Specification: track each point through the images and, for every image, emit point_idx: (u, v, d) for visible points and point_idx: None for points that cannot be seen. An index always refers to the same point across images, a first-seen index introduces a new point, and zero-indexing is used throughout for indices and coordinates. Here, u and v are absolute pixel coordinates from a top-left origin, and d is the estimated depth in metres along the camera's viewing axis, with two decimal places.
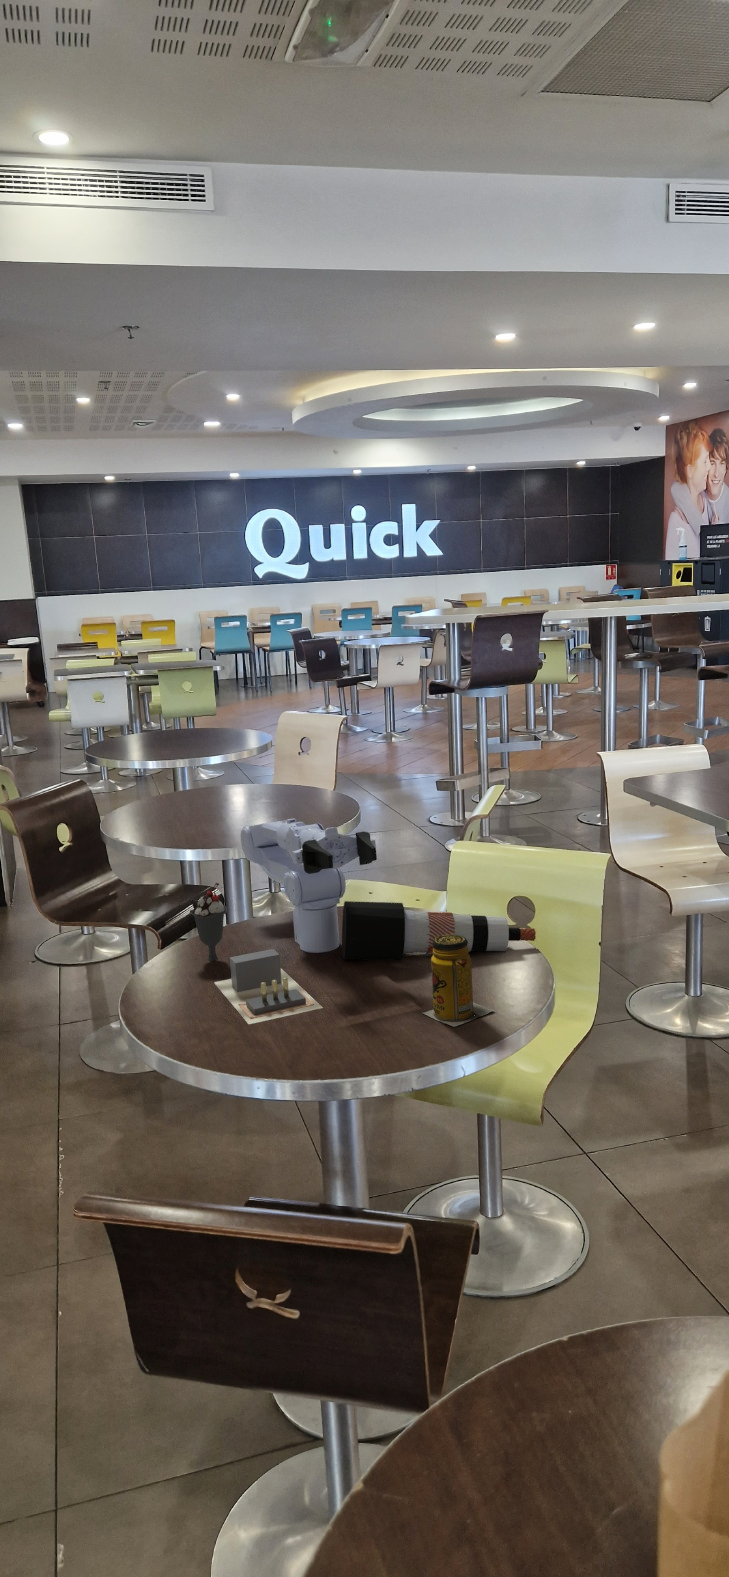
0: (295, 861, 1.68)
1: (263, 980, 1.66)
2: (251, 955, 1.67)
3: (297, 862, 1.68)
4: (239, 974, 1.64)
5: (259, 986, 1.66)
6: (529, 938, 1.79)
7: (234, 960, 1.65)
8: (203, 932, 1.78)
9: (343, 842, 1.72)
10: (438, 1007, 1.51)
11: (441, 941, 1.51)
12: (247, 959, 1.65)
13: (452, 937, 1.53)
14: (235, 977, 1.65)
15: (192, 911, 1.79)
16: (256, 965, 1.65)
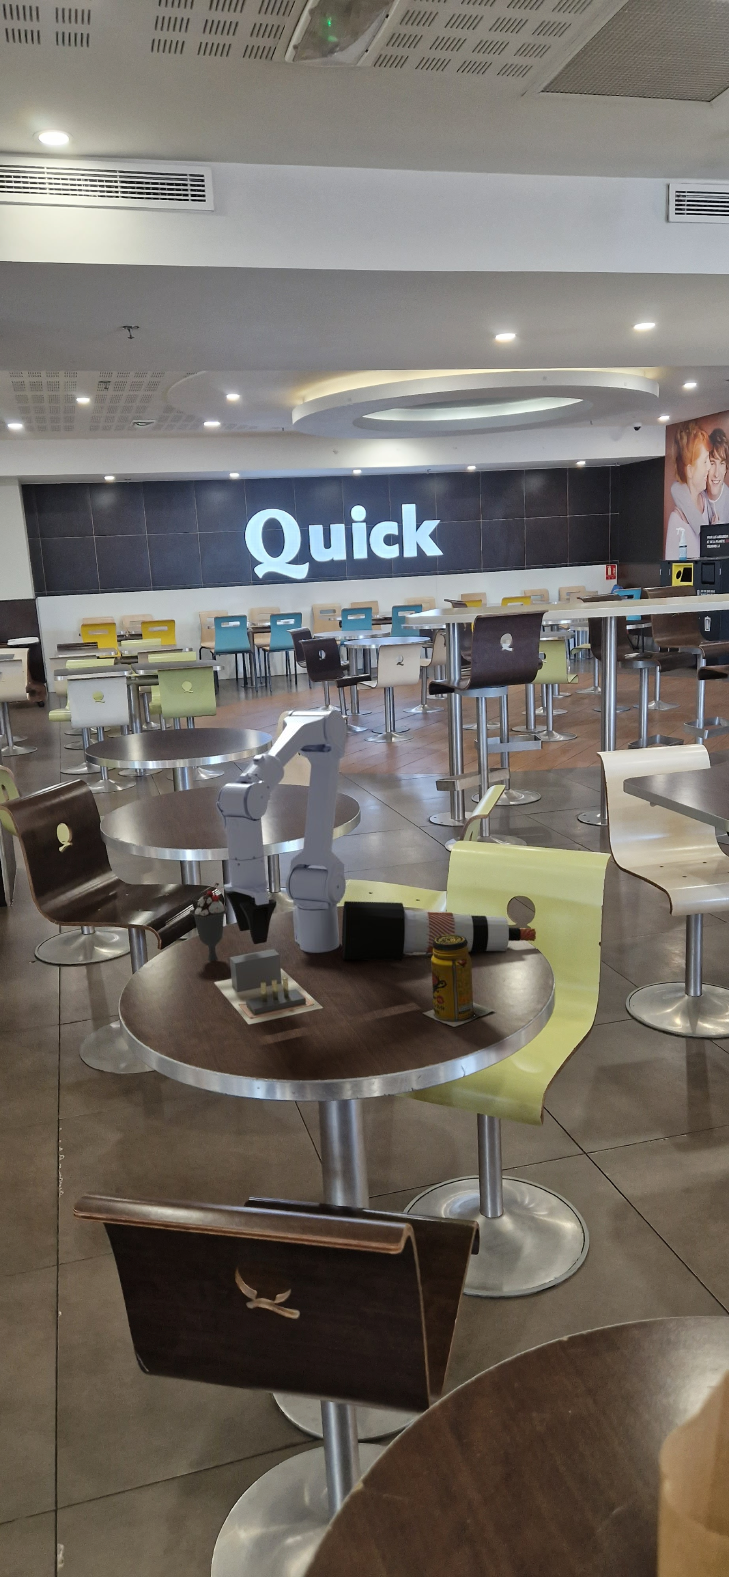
0: None
1: (263, 980, 1.66)
2: (251, 955, 1.67)
3: None
4: (239, 974, 1.64)
5: (259, 986, 1.66)
6: (529, 938, 1.79)
7: (234, 960, 1.65)
8: (203, 932, 1.78)
9: None
10: (438, 1007, 1.51)
11: (441, 941, 1.51)
12: (247, 959, 1.65)
13: (452, 937, 1.53)
14: (235, 977, 1.65)
15: (192, 911, 1.79)
16: (256, 965, 1.65)
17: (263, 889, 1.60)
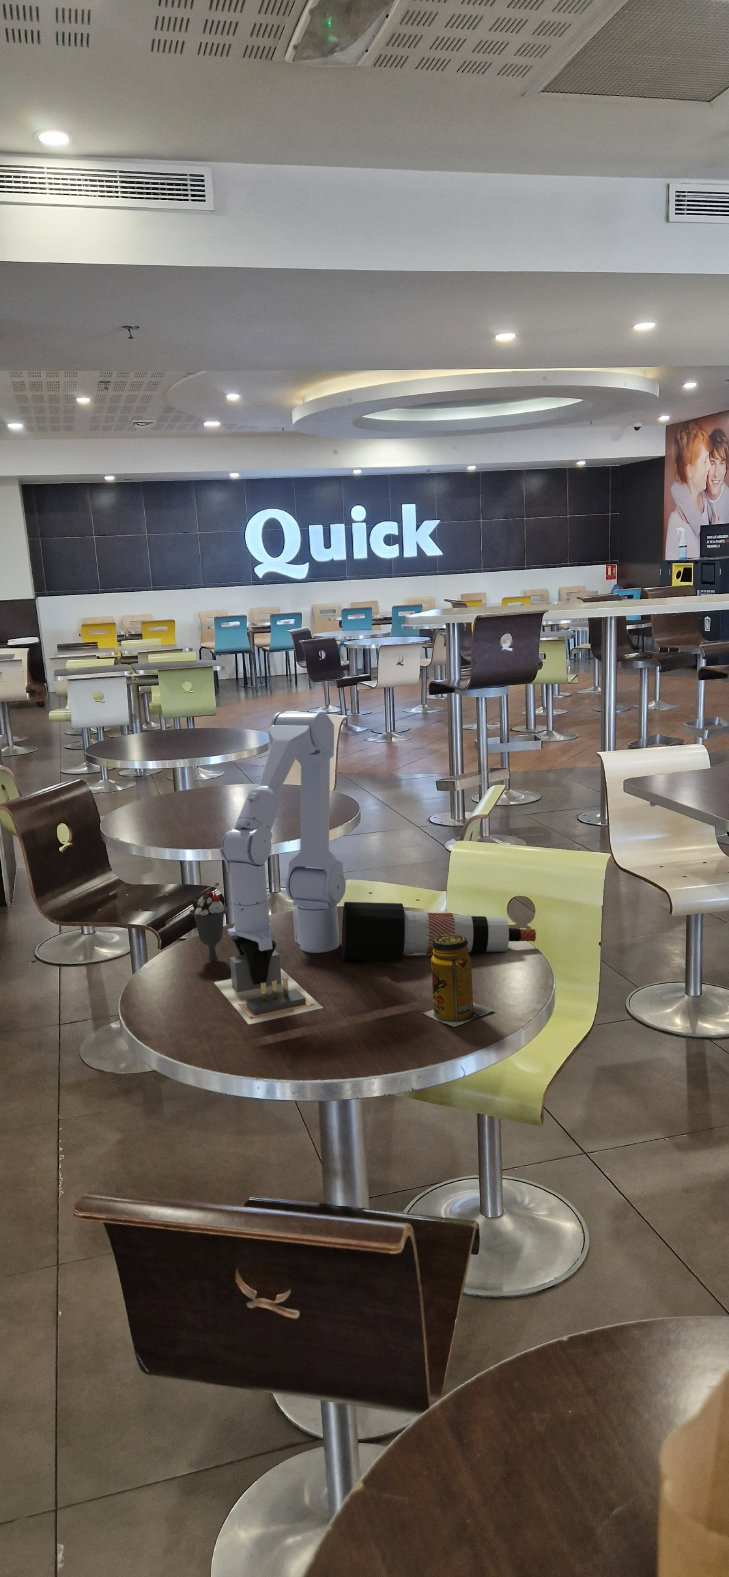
0: None
1: None
2: None
3: None
4: (239, 974, 1.64)
5: (259, 986, 1.66)
6: (529, 939, 1.79)
7: (234, 960, 1.65)
8: (203, 932, 1.78)
9: None
10: (438, 1007, 1.51)
11: (441, 941, 1.51)
12: None
13: (452, 937, 1.53)
14: (235, 977, 1.65)
15: (192, 911, 1.79)
16: None
17: (267, 934, 1.62)
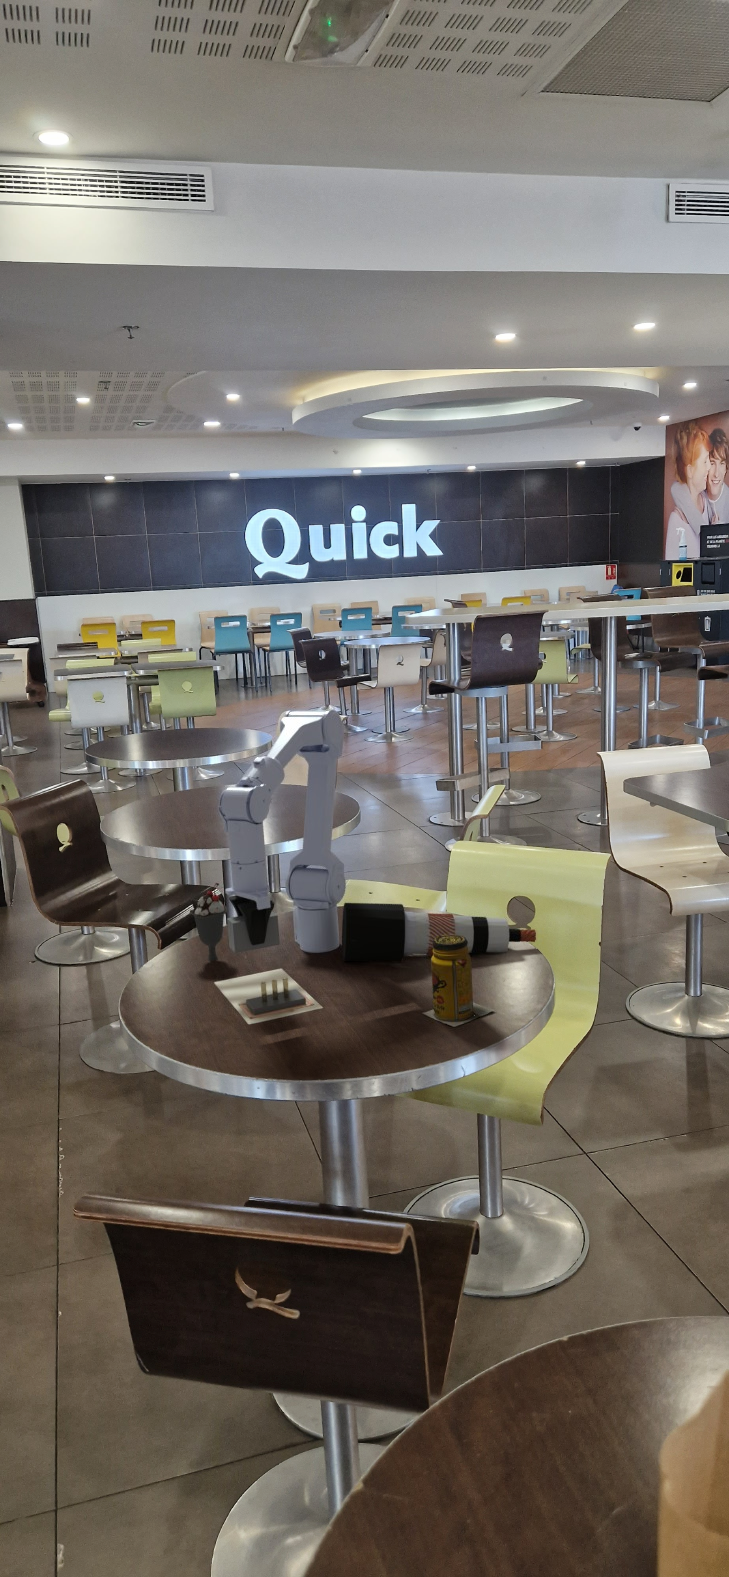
0: None
1: None
2: None
3: None
4: (237, 935, 1.62)
5: (257, 947, 1.64)
6: (529, 939, 1.79)
7: (232, 921, 1.63)
8: (203, 932, 1.78)
9: None
10: (438, 1007, 1.51)
11: (441, 941, 1.51)
12: None
13: (452, 937, 1.53)
14: (233, 938, 1.63)
15: (192, 911, 1.79)
16: None
17: (265, 893, 1.60)
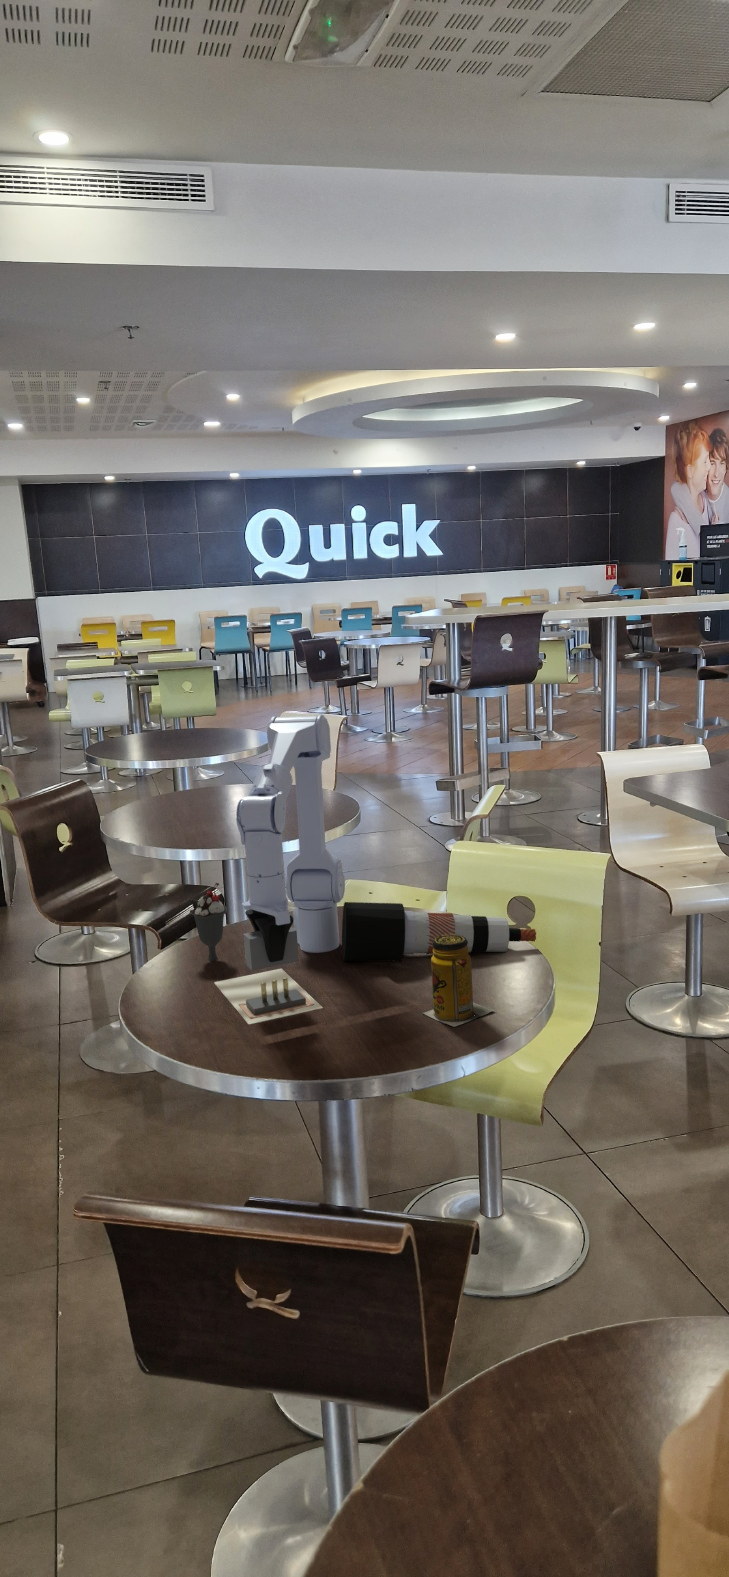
0: None
1: None
2: None
3: None
4: (254, 951, 1.54)
5: (275, 964, 1.56)
6: (529, 939, 1.79)
7: (248, 936, 1.55)
8: (203, 932, 1.78)
9: None
10: (438, 1007, 1.51)
11: (441, 941, 1.51)
12: None
13: (452, 937, 1.53)
14: (249, 954, 1.54)
15: (192, 911, 1.79)
16: None
17: (284, 908, 1.51)
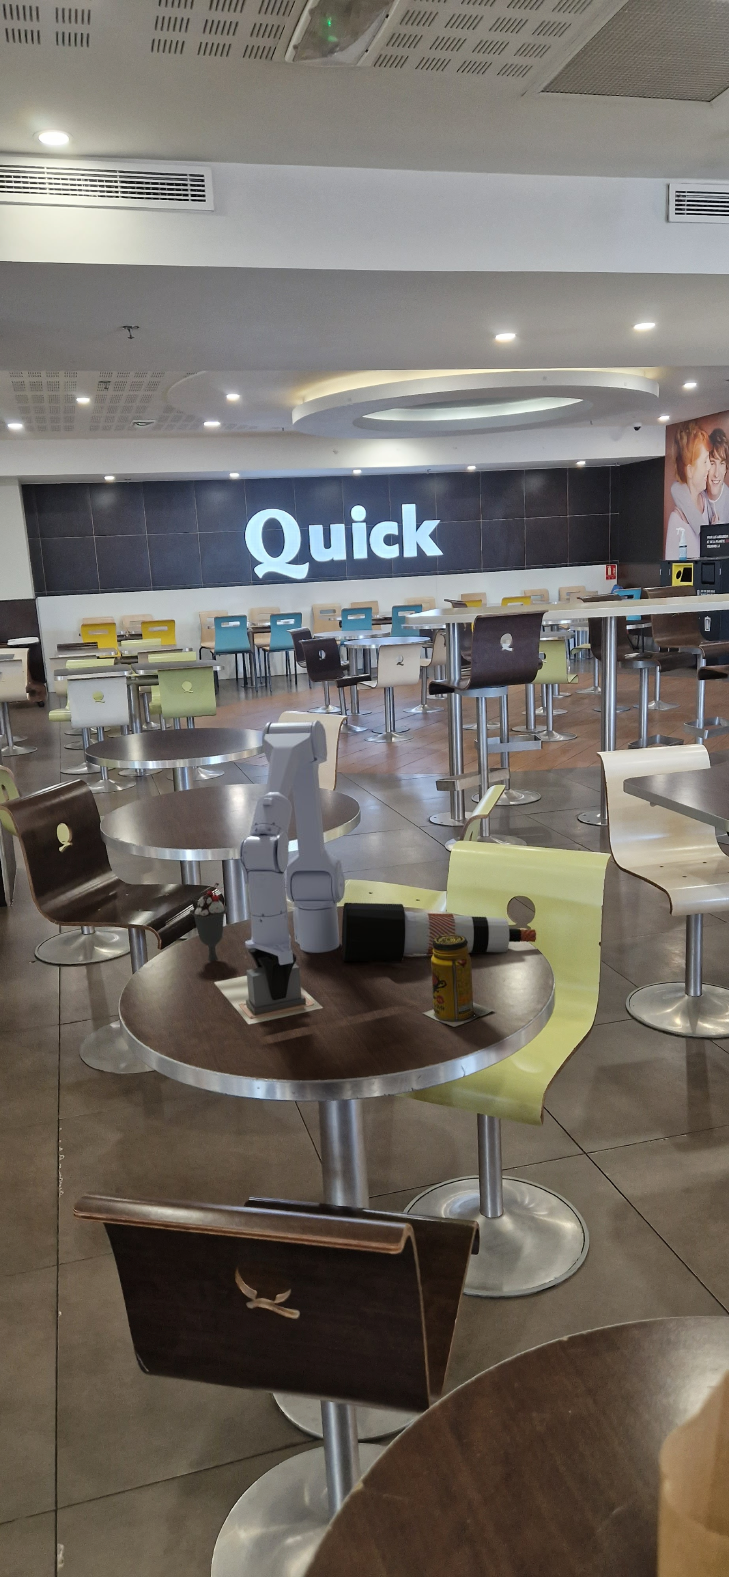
0: None
1: None
2: None
3: None
4: (257, 988, 1.55)
5: (278, 1001, 1.57)
6: (530, 939, 1.79)
7: (251, 973, 1.56)
8: (203, 932, 1.78)
9: None
10: (438, 1007, 1.51)
11: (441, 941, 1.51)
12: None
13: (452, 937, 1.53)
14: (252, 991, 1.55)
15: (192, 911, 1.79)
16: None
17: (287, 947, 1.53)
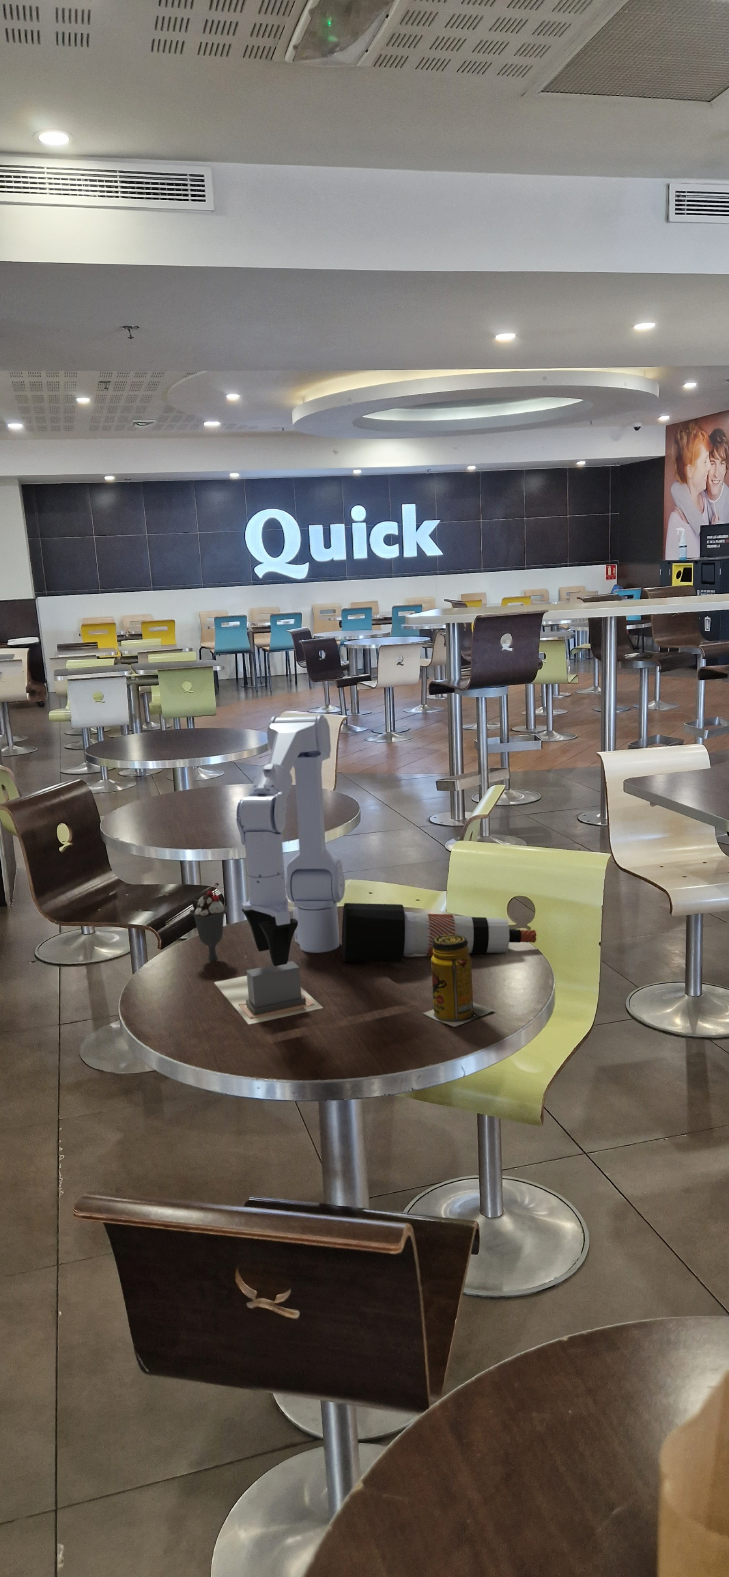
0: None
1: (282, 994, 1.57)
2: (269, 968, 1.58)
3: None
4: (257, 988, 1.55)
5: (278, 1001, 1.57)
6: (530, 940, 1.79)
7: (251, 973, 1.56)
8: (203, 932, 1.78)
9: None
10: (438, 1007, 1.51)
11: (441, 941, 1.51)
12: (265, 972, 1.56)
13: (452, 937, 1.53)
14: (252, 991, 1.55)
15: (192, 911, 1.79)
16: (275, 978, 1.56)
17: (284, 908, 1.52)
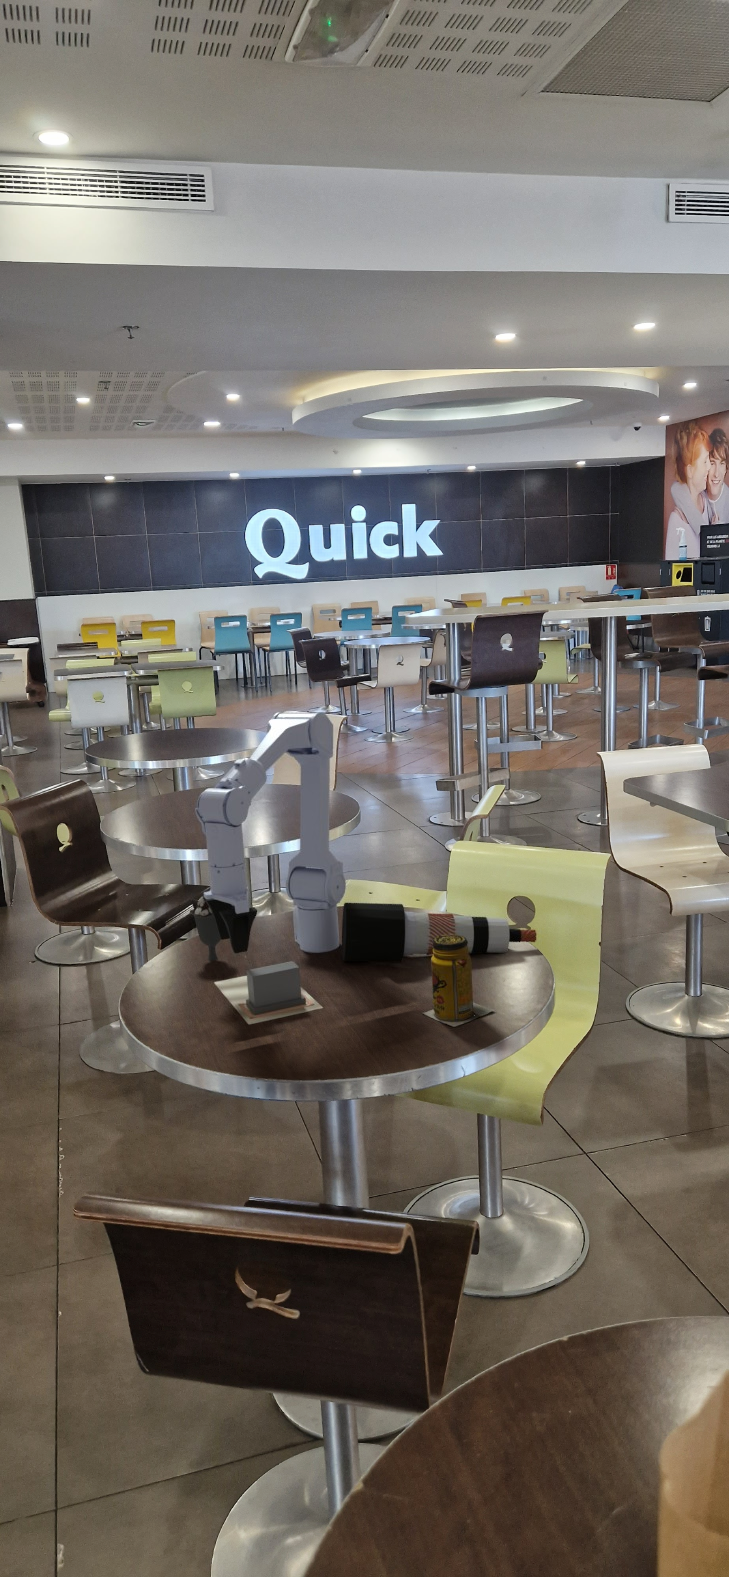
0: None
1: (282, 994, 1.57)
2: (269, 968, 1.58)
3: None
4: (257, 988, 1.55)
5: (278, 1001, 1.57)
6: (530, 939, 1.79)
7: (251, 973, 1.56)
8: (203, 932, 1.78)
9: None
10: (438, 1007, 1.51)
11: (441, 941, 1.51)
12: (265, 972, 1.56)
13: (452, 937, 1.53)
14: (252, 991, 1.55)
15: (192, 911, 1.79)
16: (275, 978, 1.56)
17: (243, 897, 1.57)
